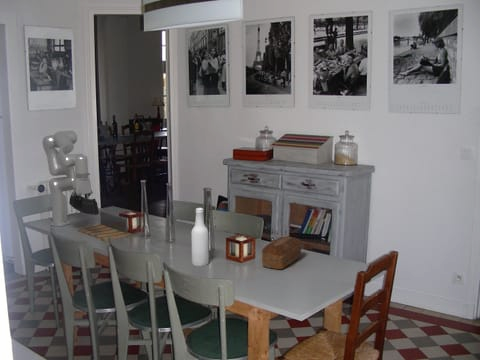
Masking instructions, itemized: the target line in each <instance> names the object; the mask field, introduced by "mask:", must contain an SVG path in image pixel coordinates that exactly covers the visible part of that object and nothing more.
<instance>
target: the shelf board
mask: <svg viewBox="0 0 480 360" xmlns="http://www.w3.org/2000/svg"><path fill="white" fill-rule="evenodd" d="M76 229H77V231H78V232H80V233H82V234H85V235H87V236H90V235H91V236H90V237H94V238H95V237H96V239H98V240H100V239H101V240H100V241H104V242H108V237H110V238H111V240H110V241H114V240H118V239H122V238H126V237H131V232H128V233H124V232H121V231H119V230H116V229H113V228H110V227H107V226H104V225H101V222H100V223H96V224H90V225H87V226H81V227H77V228H76Z"/></svg>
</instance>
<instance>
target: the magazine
mask: <svg viewBox="0 0 480 360" xmlns="http://www.w3.org/2000/svg"><path fill="white" fill-rule="evenodd" d="M72 195H73V191H72V193H71V195H70V197H69V202H68V204H69V205H70V206H71V207H72V208H73V209H75V210H77V211H78V212H80V213H82V214H86V215H94V216H98V215H100V210H99V206H98V202H97V199H96V198H91V199H90V198H85V196H82V195H81V200H82V206H79V205H78V199H77V198H76V197H74V196H72ZM76 195H77V194H76Z"/></svg>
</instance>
